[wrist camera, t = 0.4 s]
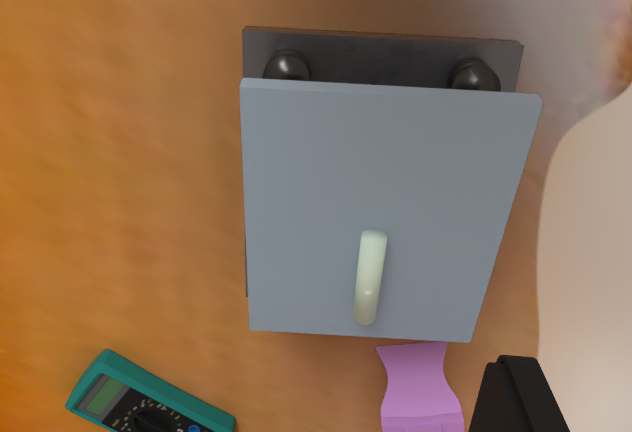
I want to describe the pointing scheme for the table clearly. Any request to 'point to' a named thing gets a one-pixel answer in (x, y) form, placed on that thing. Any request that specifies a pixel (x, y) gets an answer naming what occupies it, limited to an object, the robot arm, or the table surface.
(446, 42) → the leveling stand
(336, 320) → the plate
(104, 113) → the table surface
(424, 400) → the toy chair
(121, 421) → the digital multimeter
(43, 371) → the table surface
